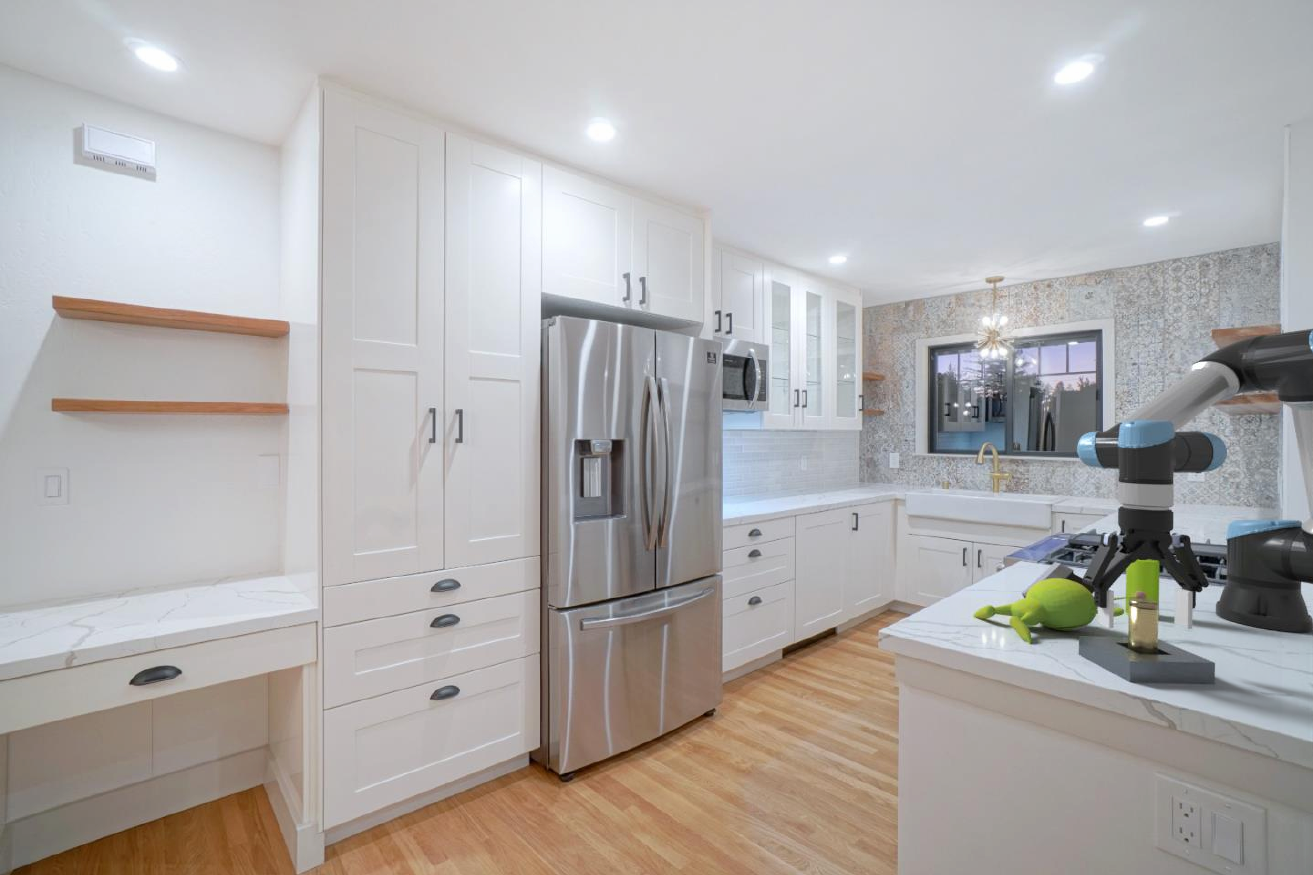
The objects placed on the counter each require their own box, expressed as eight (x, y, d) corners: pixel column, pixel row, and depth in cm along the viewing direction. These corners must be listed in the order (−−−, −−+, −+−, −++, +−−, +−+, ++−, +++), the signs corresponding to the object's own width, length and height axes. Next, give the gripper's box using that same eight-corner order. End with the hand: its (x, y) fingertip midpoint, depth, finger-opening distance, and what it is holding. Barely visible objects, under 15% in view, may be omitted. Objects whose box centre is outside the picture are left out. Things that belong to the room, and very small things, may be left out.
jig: (1154, 656, 108) (1154, 637, 108) (1214, 683, 96) (1215, 662, 96) (1078, 654, 109) (1079, 636, 109) (1129, 681, 97) (1129, 660, 97)
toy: (1038, 661, 113) (1171, 625, 116) (1028, 608, 112) (1161, 574, 116) (971, 629, 132) (1086, 599, 136) (962, 584, 132) (1078, 555, 136)
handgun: (1047, 626, 147) (1017, 591, 146) (1089, 586, 148) (1060, 551, 147) (1057, 631, 143) (1027, 595, 143) (1101, 590, 144) (1071, 554, 143)
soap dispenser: (1119, 609, 138) (1120, 526, 138) (1157, 614, 134) (1158, 529, 134) (1120, 615, 134) (1122, 529, 134) (1160, 621, 130) (1161, 532, 129)
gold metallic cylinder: (1144, 664, 104) (1145, 598, 104) (1163, 673, 100) (1164, 604, 100) (1122, 663, 105) (1123, 597, 105) (1140, 672, 101) (1141, 604, 101)
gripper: (1197, 504, 106) (1196, 619, 106) (1059, 504, 106) (1059, 618, 107) (1237, 510, 98) (1236, 633, 99) (1089, 509, 99) (1088, 632, 99)
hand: (1144, 626), depth 103 cm, fingers open, 13 cm apart
